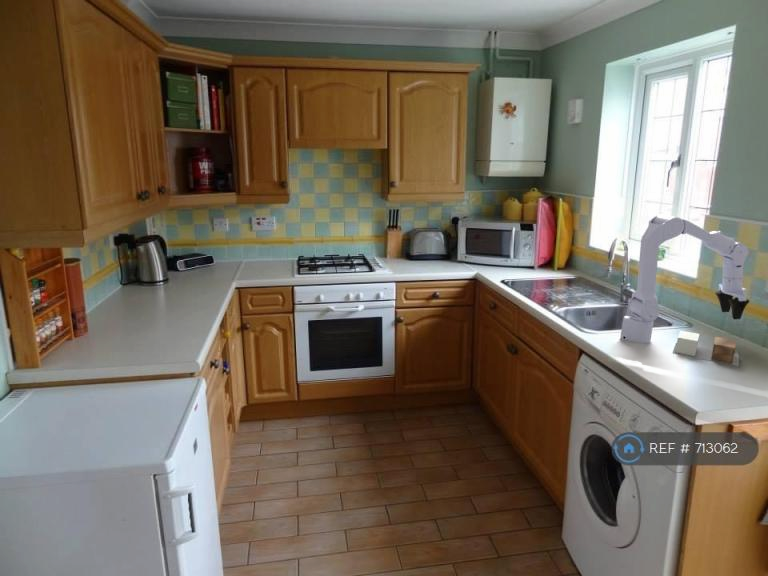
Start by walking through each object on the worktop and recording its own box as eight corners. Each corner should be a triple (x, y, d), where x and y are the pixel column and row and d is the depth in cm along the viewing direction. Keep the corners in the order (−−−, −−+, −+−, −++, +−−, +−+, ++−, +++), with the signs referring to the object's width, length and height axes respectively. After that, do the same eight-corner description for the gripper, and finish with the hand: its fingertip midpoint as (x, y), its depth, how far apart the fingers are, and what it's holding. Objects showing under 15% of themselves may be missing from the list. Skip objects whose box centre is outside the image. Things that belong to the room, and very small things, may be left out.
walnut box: (711, 359, 167) (714, 344, 166) (712, 351, 174) (715, 336, 173) (732, 363, 164) (735, 347, 163) (732, 355, 171) (735, 340, 170)
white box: (675, 352, 172) (677, 337, 171) (677, 344, 179) (680, 330, 178) (695, 356, 169) (697, 341, 168) (697, 348, 176) (699, 333, 175)
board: (671, 356, 171) (672, 353, 171) (675, 346, 181) (676, 342, 181) (738, 369, 162) (738, 366, 162) (738, 358, 172) (739, 354, 171)
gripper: (757, 281, 172) (755, 321, 175) (734, 270, 185) (733, 307, 189) (733, 283, 173) (732, 322, 176) (712, 272, 186) (711, 309, 190)
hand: (731, 315), depth 182 cm, fingers open, 7 cm apart
